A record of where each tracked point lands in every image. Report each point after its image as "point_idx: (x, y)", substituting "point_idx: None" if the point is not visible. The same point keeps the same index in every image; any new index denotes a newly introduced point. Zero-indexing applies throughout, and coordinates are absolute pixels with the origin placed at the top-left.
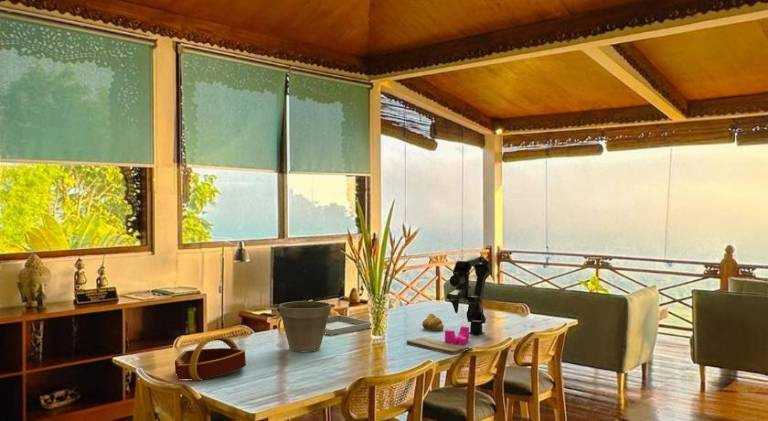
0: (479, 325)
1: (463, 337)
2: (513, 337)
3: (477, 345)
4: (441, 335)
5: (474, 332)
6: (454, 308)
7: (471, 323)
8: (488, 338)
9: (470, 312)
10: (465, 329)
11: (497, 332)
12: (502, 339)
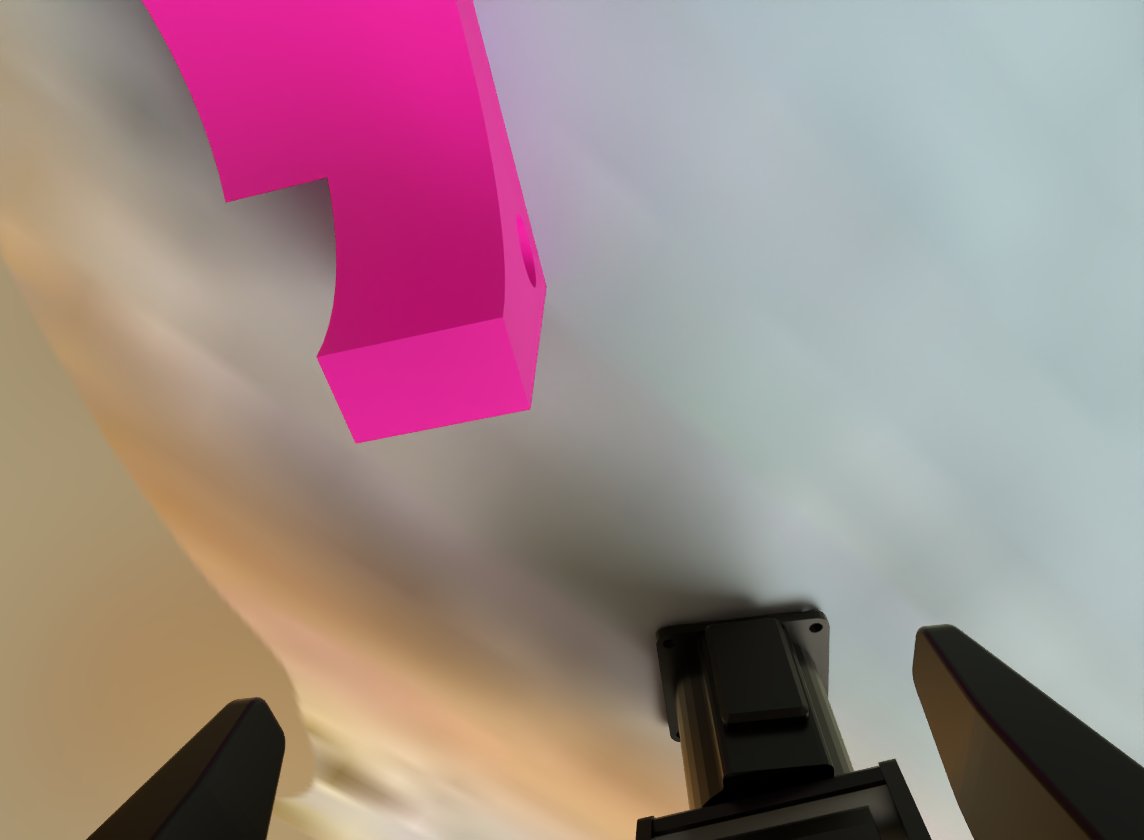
0: (689, 780)
1: (288, 139)
2: (350, 810)
3: (76, 222)
4: (1082, 208)
5: (706, 642)
6: (1109, 779)
7: (804, 752)
8: (438, 622)
9: (126, 814)
10: (352, 322)
11: (634, 834)
12: (313, 697)
